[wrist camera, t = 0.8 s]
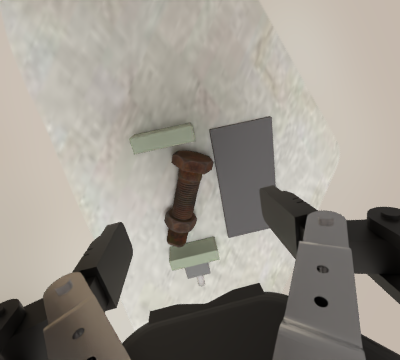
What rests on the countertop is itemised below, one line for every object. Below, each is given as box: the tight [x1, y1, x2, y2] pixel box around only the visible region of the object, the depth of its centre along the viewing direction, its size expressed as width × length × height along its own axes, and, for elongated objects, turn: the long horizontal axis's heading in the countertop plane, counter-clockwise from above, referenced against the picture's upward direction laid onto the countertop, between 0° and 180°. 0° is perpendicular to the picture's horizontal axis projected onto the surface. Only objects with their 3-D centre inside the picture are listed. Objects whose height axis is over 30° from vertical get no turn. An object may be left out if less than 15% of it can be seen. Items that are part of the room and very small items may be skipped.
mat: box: [210, 117, 276, 238], centre depth 33 cm, size 19×9×1 cm, turn 11°
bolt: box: [164, 151, 214, 248], centre depth 31 cm, size 6×5×15 cm
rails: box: [129, 123, 220, 287], centre depth 32 cm, size 28×8×4 cm, turn 11°
